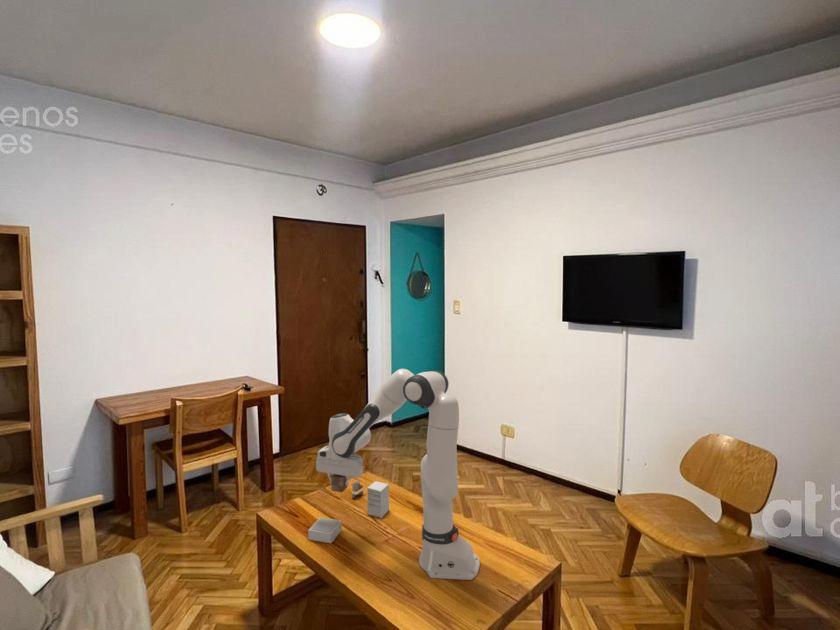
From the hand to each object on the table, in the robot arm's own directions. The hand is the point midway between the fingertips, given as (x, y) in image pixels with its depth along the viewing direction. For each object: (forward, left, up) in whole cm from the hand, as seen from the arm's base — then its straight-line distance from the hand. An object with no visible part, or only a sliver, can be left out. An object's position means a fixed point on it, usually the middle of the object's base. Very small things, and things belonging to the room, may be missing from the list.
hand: (339, 483), depth 188 cm
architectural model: (+4, -29, -21) cm, 35 cm away
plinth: (+4, +5, -20) cm, 21 cm away
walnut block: (0, 0, -2) cm, 2 cm away
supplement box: (-11, -17, -20) cm, 28 cm away
